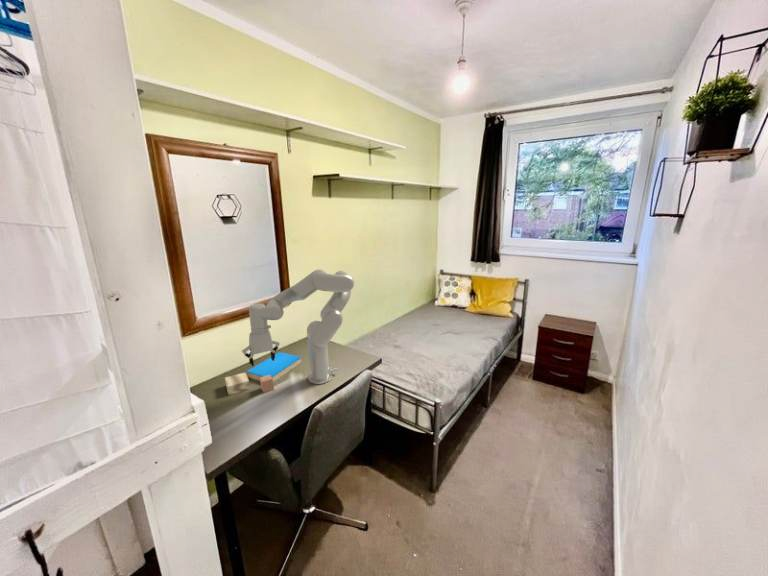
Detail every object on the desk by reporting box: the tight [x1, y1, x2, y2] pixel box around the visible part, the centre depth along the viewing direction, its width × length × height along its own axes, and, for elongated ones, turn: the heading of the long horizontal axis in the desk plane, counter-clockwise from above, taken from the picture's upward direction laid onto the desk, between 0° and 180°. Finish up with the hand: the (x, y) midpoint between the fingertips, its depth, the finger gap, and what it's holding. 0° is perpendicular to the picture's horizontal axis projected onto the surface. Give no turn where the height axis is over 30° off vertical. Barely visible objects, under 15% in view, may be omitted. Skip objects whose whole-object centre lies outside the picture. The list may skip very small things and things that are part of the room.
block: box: [259, 375, 275, 394], centre depth 161 cm, size 5×5×6 cm
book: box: [246, 351, 302, 383], centre depth 180 cm, size 17×4×25 cm
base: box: [224, 371, 251, 396], centre depth 163 cm, size 10×10×5 cm
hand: (262, 362), depth 157 cm, fingers open, 9 cm apart
